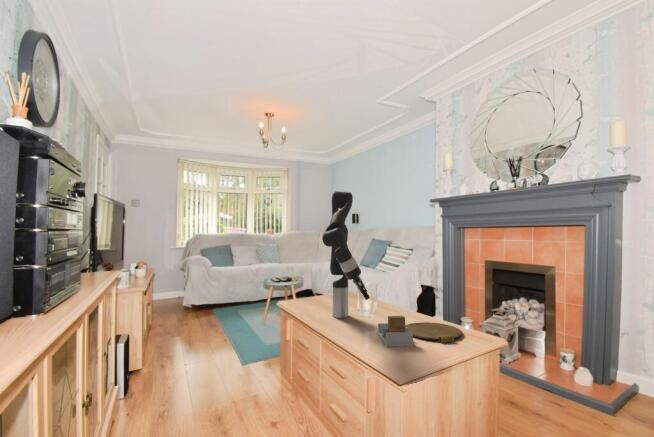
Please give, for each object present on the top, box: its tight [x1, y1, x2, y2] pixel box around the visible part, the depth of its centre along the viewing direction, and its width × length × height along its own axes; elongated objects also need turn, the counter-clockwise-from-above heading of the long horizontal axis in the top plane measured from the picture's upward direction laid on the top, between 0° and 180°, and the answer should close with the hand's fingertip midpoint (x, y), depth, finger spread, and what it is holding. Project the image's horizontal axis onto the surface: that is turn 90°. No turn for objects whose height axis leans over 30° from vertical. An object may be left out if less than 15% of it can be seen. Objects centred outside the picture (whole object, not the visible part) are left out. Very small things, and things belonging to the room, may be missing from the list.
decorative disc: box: [405, 321, 464, 344], centre depth 156 cm, size 29×3×30 cm
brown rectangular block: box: [387, 315, 406, 333], centre depth 143 cm, size 4×7×10 cm, turn 96°
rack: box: [376, 322, 416, 348], centre depth 146 cm, size 16×13×6 cm
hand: (365, 295), depth 149 cm, fingers open, 8 cm apart
